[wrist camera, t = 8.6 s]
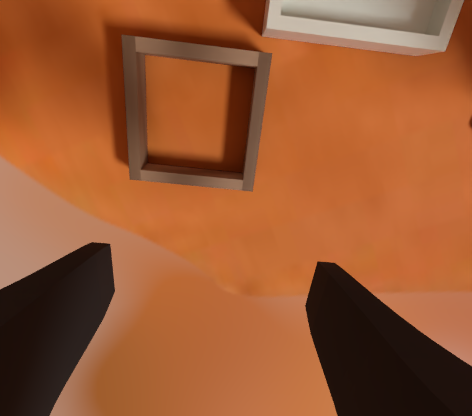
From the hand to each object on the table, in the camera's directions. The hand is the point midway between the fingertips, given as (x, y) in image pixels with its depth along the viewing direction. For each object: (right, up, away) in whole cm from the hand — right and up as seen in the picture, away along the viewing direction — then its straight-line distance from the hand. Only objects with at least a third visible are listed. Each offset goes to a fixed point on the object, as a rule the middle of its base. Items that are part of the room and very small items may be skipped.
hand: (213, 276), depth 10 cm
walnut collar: (-2, +8, +8) cm, 11 cm away
